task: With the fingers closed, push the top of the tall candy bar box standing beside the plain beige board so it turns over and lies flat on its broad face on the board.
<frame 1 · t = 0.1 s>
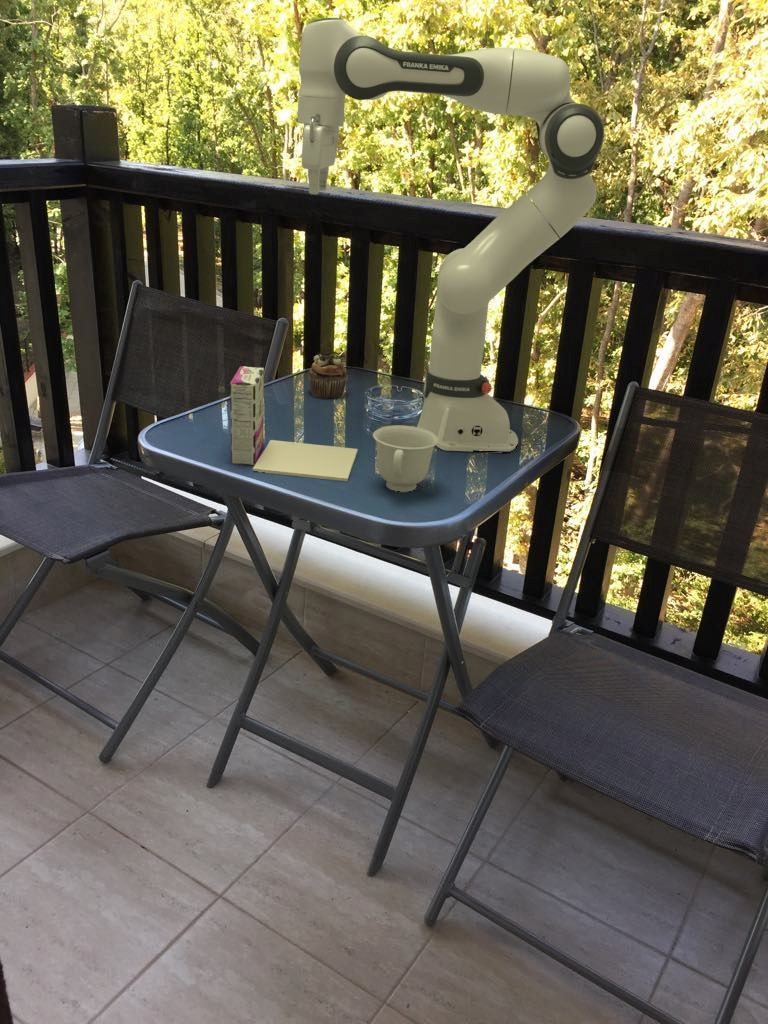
hand: (317, 192, 170), 48 cm above the table, tool pointing down, fingers open, 8 cm apart
candy bar box: (247, 456, 170), on the table
teacup: (399, 490, 160), on the table
cupcake: (326, 394, 210), on the table
plain beige board: (307, 461, 169), on the table
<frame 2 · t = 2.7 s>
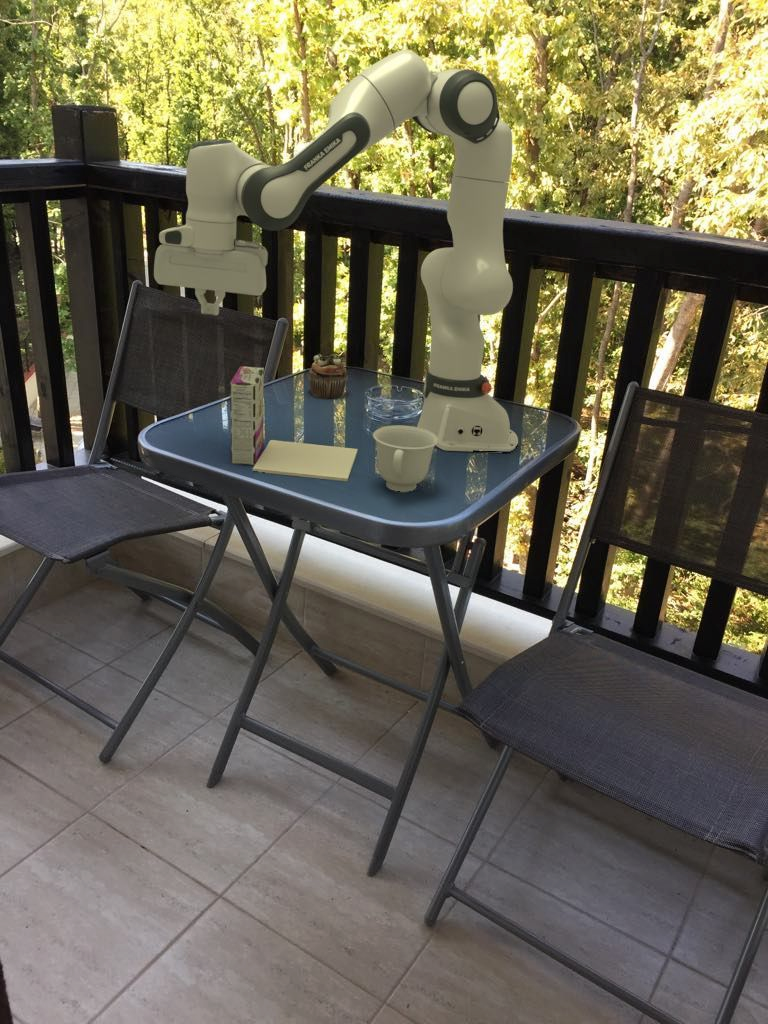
hand: (210, 313, 160), 27 cm above the table, tool pointing down, fingers closed
nothing on the table moved.
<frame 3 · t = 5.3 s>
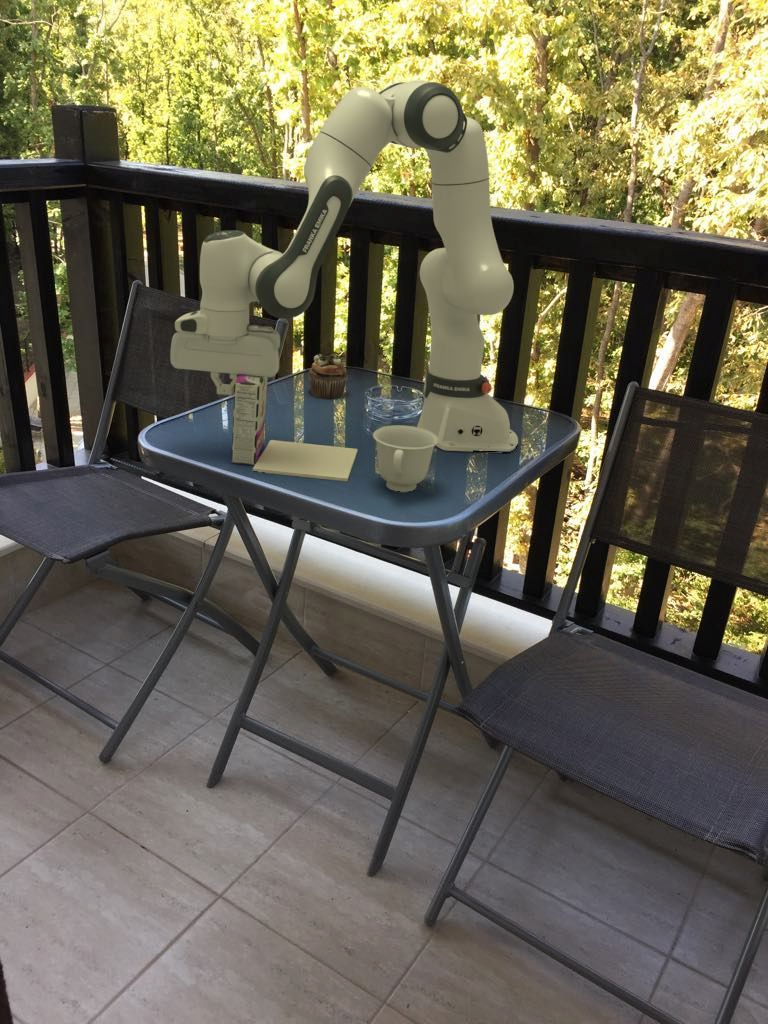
hand: (225, 394, 165), 12 cm above the table, tool pointing down, fingers closed
nothing on the table moved.
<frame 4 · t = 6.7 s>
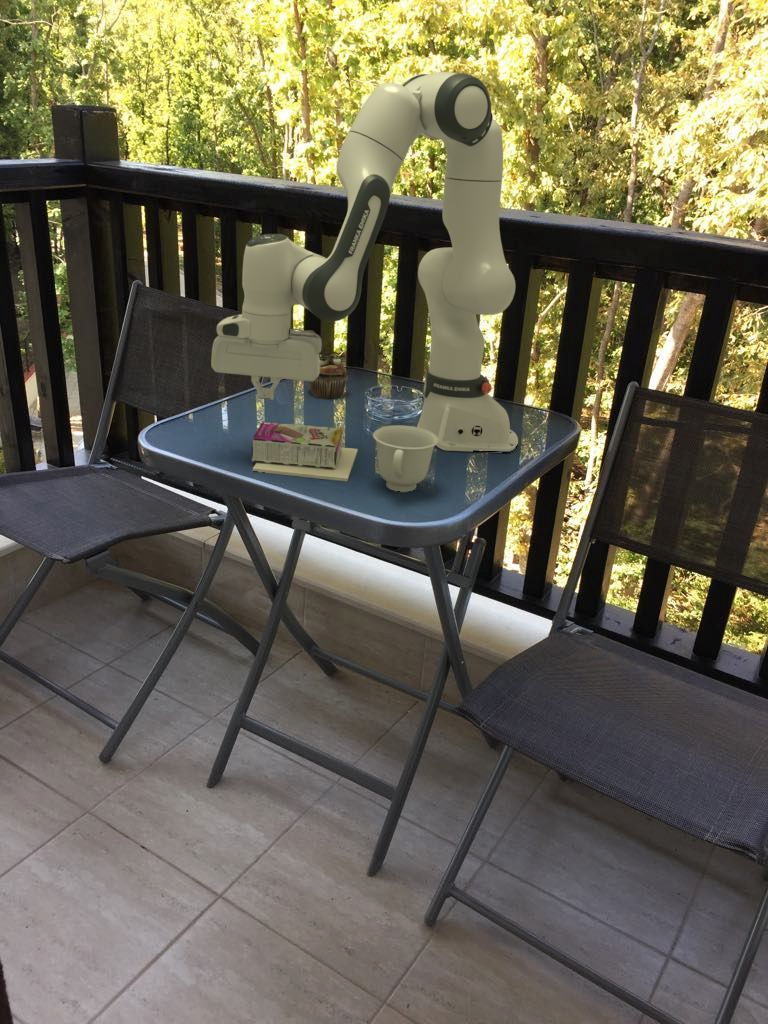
hand: (265, 398, 165), 12 cm above the table, tool pointing down, fingers closed
candy bar box: (255, 440, 168), point 3 cm above the table, touching plain beige board
everything else where it was.
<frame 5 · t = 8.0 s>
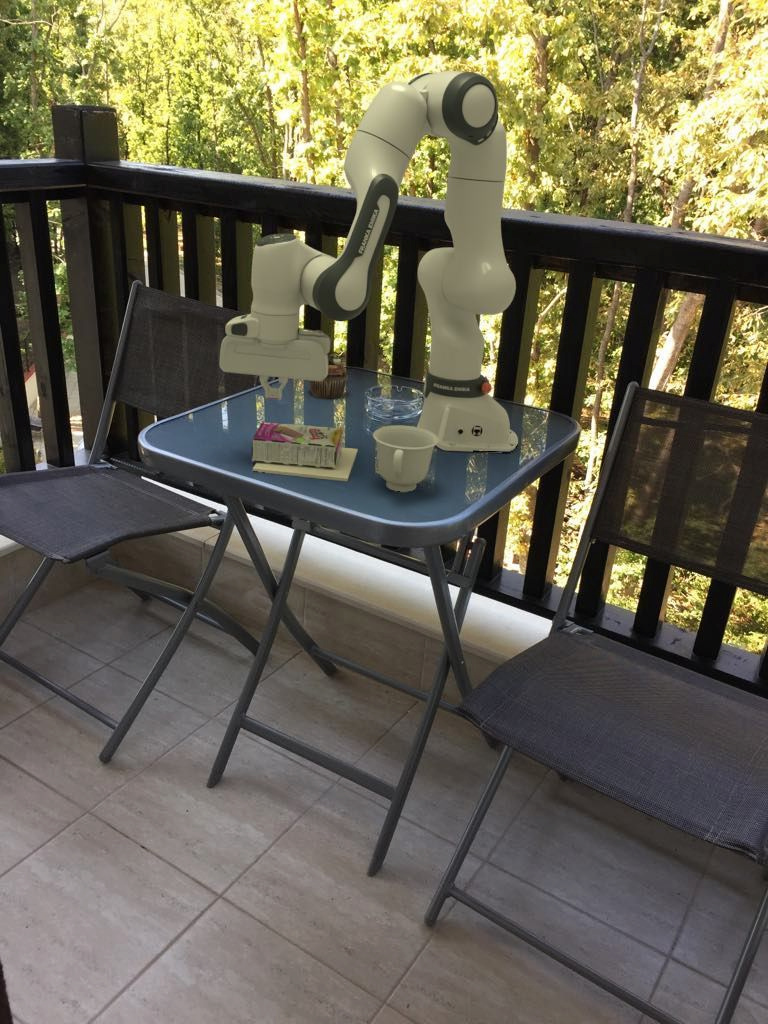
hand: (273, 398, 164), 12 cm above the table, tool pointing down, fingers closed
nothing on the table moved.
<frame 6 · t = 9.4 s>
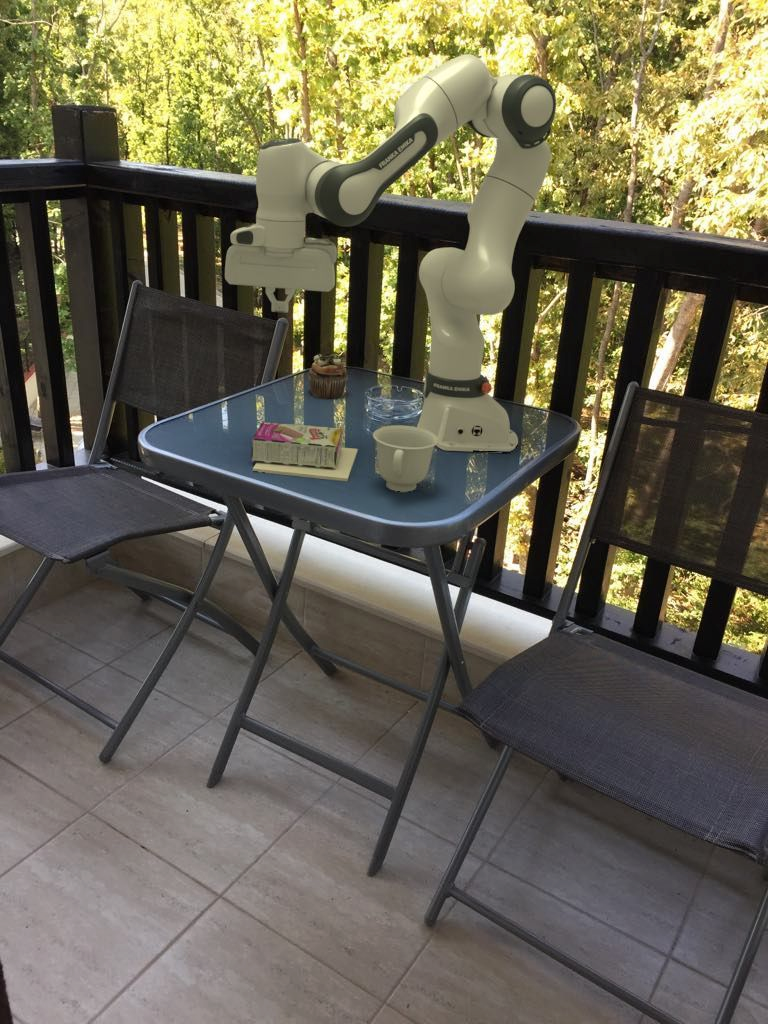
hand: (279, 311, 162), 28 cm above the table, tool pointing down, fingers closed
nothing on the table moved.
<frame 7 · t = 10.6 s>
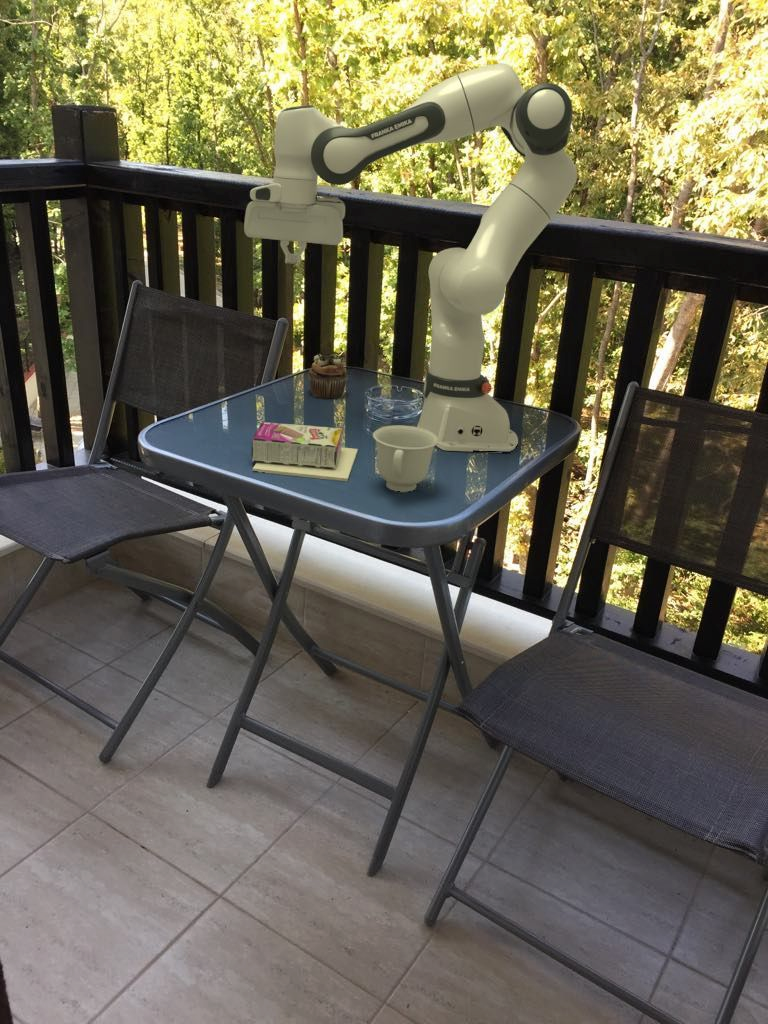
hand: (292, 263, 180), 33 cm above the table, tool pointing down, fingers closed
nothing on the table moved.
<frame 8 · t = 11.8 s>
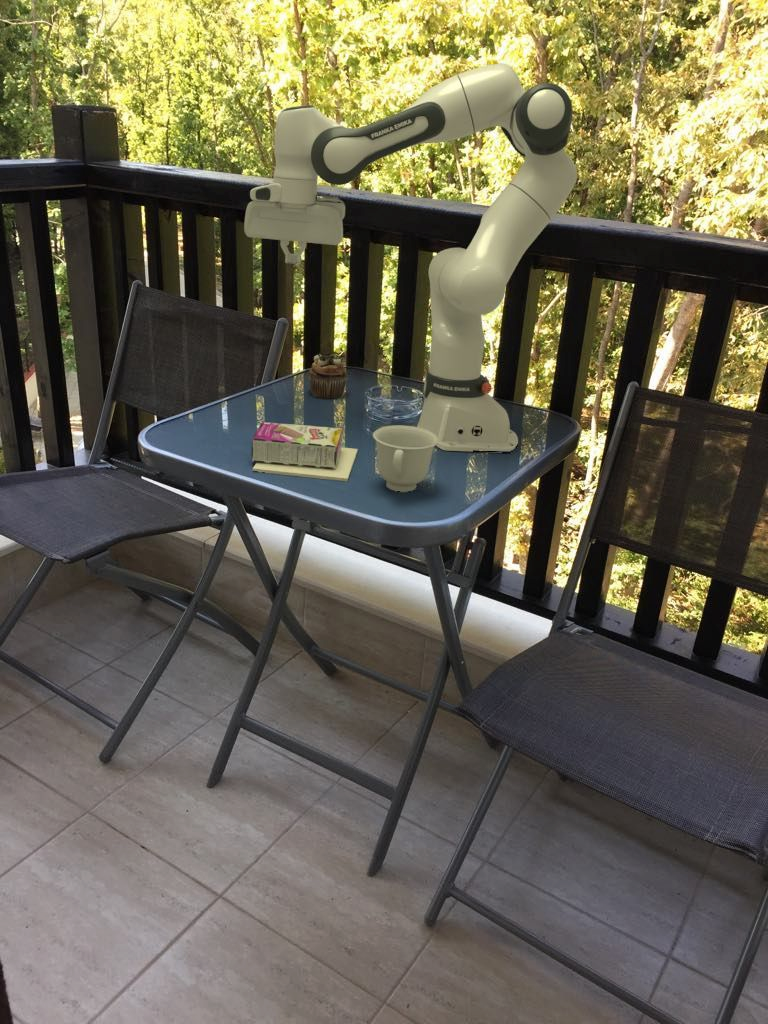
hand: (292, 263, 180), 33 cm above the table, tool pointing down, fingers closed
nothing on the table moved.
at the end: candy bar box tilted 91°; candy bar box touching plain beige board; candy bar box inside the target area (2.4 cm from its centre), point 3.1 cm above the table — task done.
